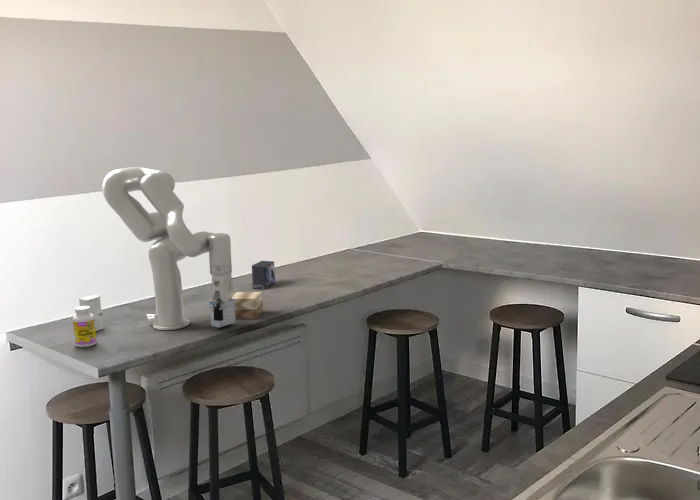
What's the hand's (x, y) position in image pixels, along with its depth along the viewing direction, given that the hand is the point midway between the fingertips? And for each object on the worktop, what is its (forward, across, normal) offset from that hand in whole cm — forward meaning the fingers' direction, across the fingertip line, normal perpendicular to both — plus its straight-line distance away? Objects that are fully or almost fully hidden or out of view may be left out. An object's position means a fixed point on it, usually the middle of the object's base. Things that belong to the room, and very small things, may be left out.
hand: (222, 316), depth 251 cm
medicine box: (+3, 0, 0) cm, 3 cm away
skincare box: (+6, -4, +47) cm, 48 cm away
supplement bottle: (+5, -20, +41) cm, 46 cm away
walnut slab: (+4, +16, -4) cm, 17 cm away
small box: (+5, +60, +1) cm, 60 cm away
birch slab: (0, +16, -4) cm, 16 cm away
